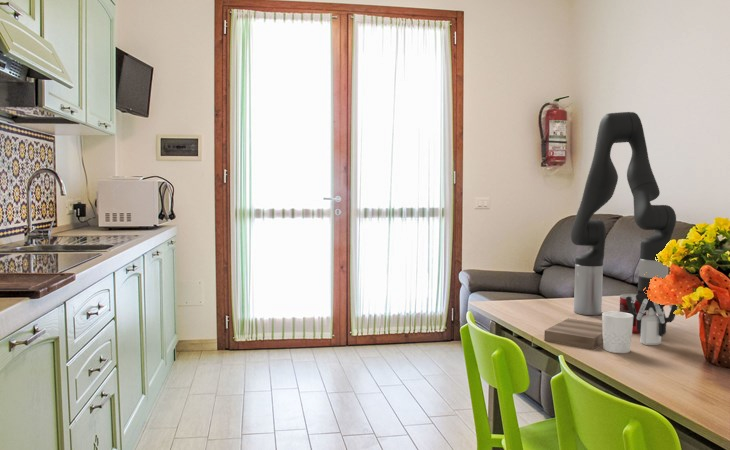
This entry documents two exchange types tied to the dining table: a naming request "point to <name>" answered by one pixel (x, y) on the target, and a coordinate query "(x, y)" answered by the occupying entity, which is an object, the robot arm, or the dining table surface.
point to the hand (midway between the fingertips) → (650, 333)
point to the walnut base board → (576, 333)
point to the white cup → (617, 331)
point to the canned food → (625, 309)
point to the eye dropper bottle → (650, 328)
